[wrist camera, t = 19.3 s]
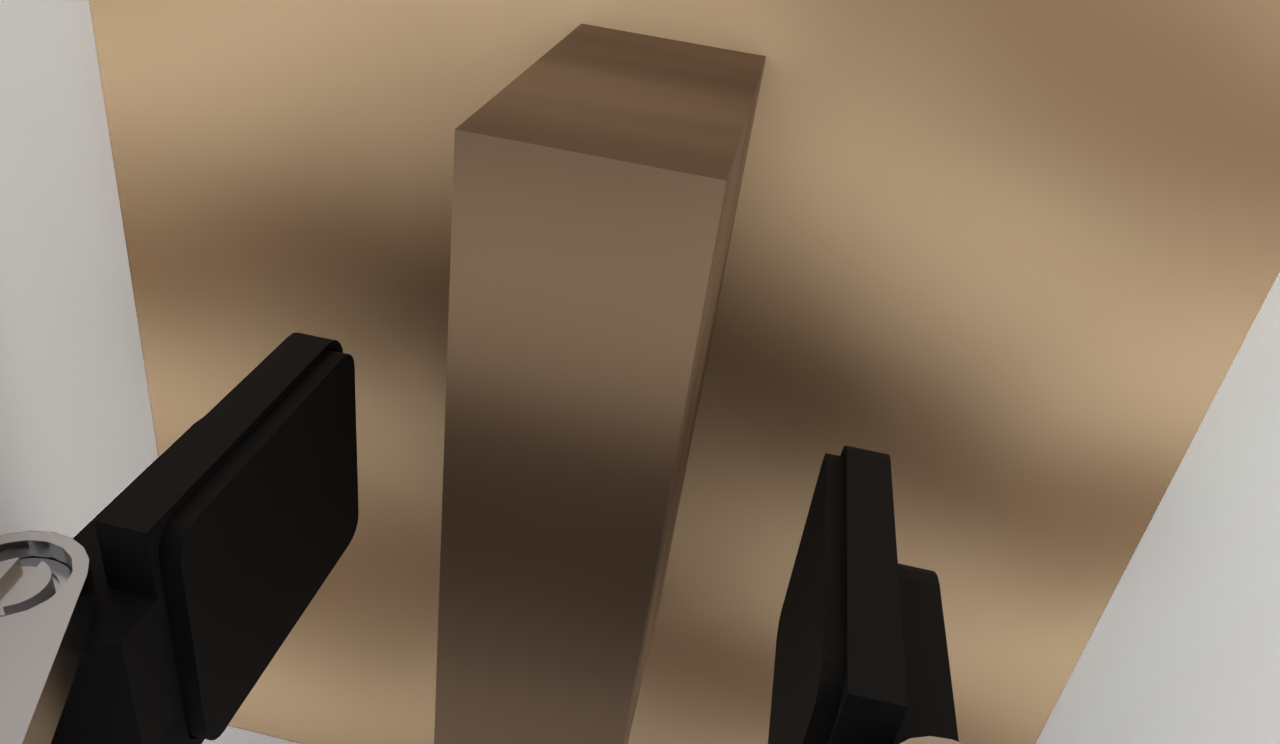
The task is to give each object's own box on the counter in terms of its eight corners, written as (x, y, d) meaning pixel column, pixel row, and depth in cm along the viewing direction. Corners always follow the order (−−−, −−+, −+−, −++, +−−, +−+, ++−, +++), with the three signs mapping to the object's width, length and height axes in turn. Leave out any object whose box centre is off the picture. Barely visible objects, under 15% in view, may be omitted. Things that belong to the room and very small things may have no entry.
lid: (946, 854, 22) (978, 1189, 17) (226, 678, 23) (45, 934, 18) (1605, -495, 10) (2460, -826, 5) (55, -679, 11) (-620, -1089, 6)
